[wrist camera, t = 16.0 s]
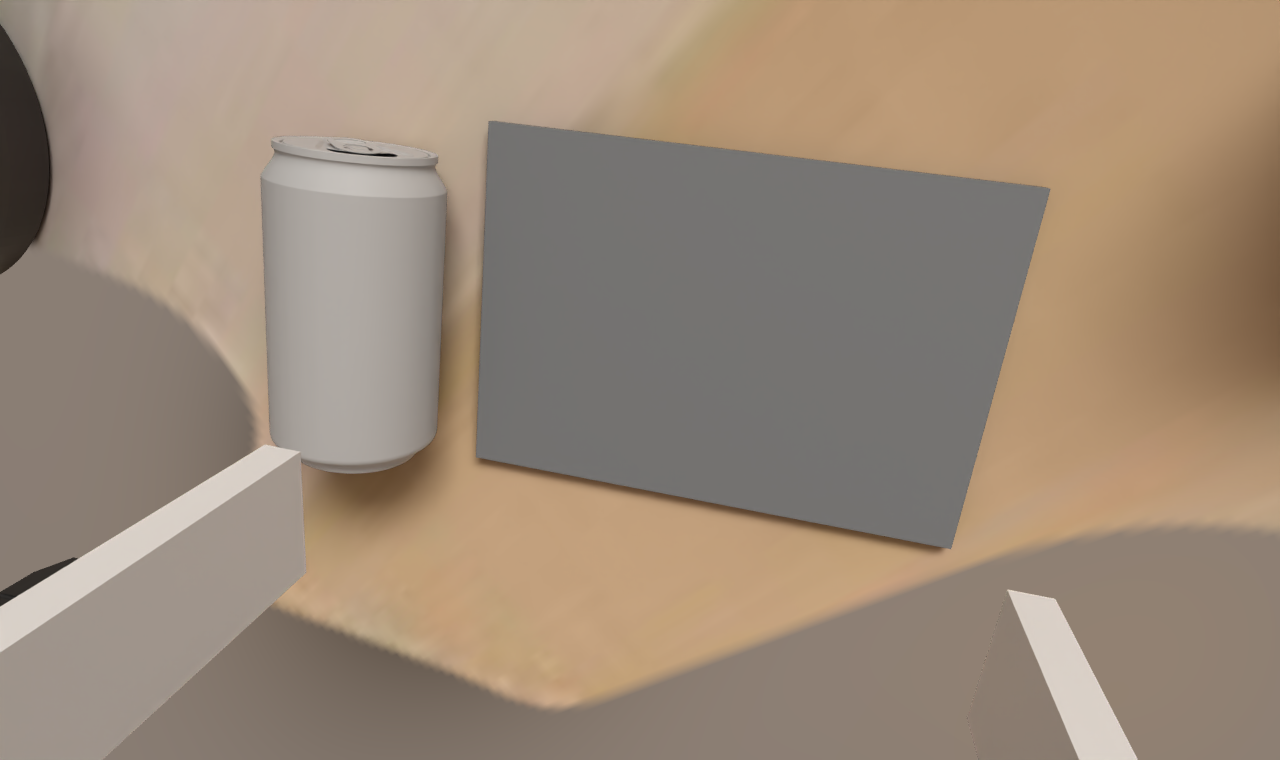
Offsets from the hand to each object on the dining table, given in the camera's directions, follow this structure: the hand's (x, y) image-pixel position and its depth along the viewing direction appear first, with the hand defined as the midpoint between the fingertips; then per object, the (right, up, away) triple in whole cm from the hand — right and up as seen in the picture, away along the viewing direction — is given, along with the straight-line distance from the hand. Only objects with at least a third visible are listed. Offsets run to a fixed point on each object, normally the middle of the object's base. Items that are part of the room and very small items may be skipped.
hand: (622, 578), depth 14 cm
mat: (+4, +5, +16) cm, 18 cm away
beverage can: (-11, +1, +18) cm, 21 cm away
